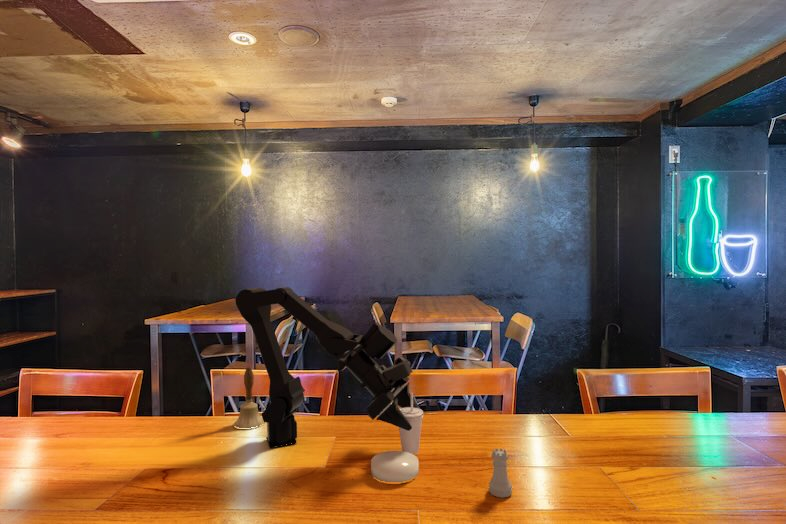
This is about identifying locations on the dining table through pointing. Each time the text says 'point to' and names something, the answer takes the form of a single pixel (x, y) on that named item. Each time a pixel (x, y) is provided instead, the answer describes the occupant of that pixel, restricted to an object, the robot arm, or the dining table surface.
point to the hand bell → (249, 405)
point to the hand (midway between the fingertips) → (414, 421)
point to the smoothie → (411, 437)
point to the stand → (394, 466)
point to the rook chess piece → (500, 475)
